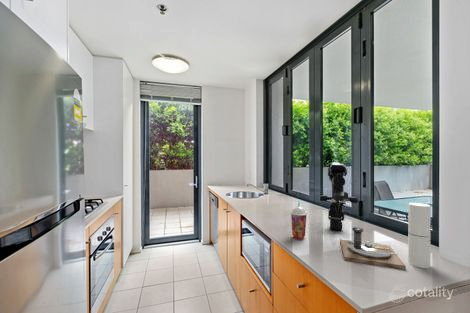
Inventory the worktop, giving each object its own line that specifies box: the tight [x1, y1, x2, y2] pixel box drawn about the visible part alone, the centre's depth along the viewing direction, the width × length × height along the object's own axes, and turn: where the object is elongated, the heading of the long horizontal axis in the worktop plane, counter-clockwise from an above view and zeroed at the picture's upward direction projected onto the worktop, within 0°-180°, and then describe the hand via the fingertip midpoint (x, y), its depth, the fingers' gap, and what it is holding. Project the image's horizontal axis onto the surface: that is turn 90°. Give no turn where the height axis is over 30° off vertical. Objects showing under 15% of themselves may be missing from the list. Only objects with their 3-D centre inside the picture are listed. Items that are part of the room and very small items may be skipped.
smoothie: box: [290, 201, 308, 241], centre depth 122 cm, size 8×8×20 cm
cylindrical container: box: [407, 202, 432, 269], centre depth 93 cm, size 7×7×25 cm
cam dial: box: [348, 226, 391, 258], centre depth 102 cm, size 17×17×10 cm
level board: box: [339, 238, 407, 271], centre depth 102 cm, size 22×22×2 cm
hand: (338, 214), depth 121 cm, fingers closed
